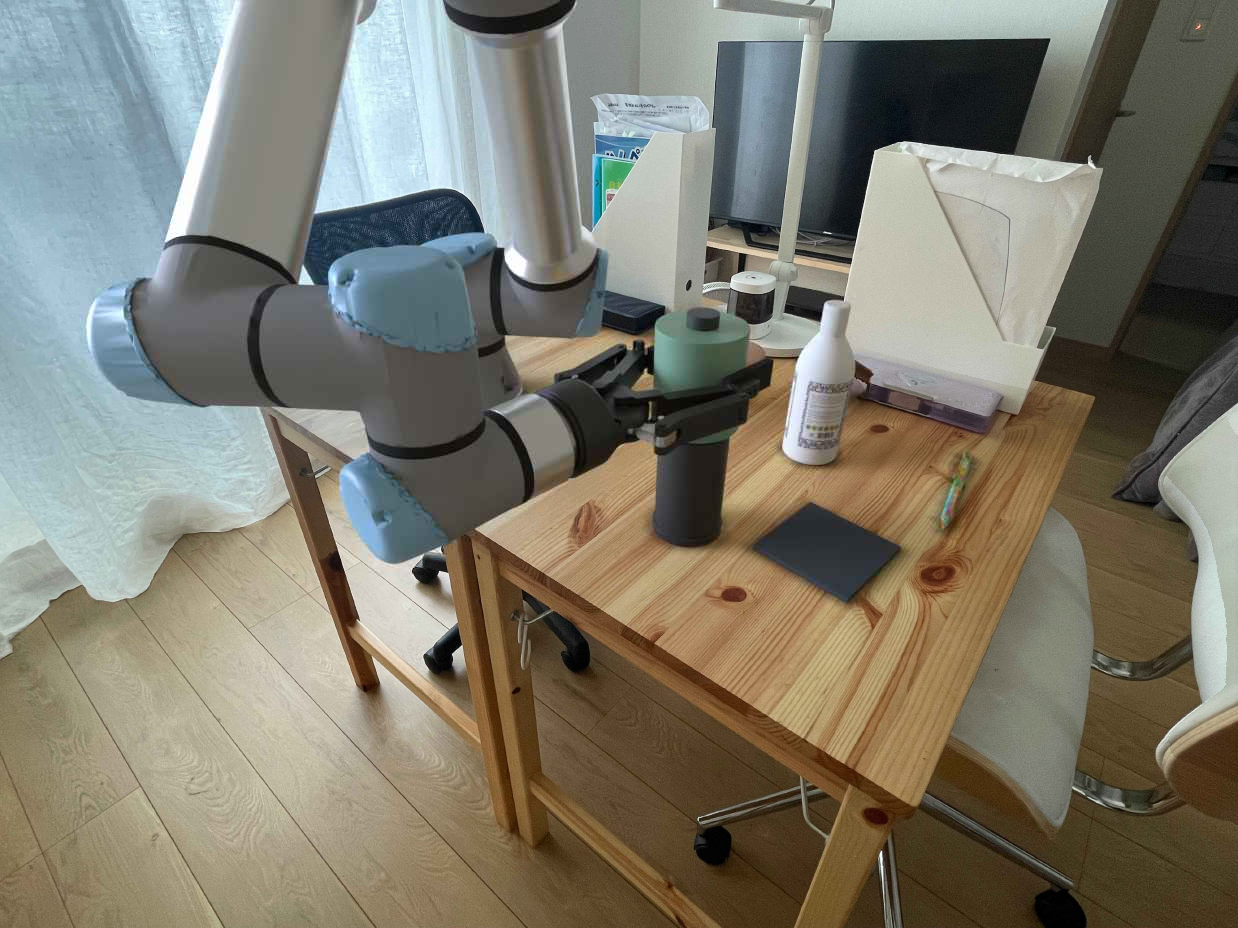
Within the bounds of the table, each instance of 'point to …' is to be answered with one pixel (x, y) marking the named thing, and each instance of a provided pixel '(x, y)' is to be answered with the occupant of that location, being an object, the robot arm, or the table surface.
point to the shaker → (690, 493)
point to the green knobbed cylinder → (699, 353)
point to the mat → (827, 550)
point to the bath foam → (821, 390)
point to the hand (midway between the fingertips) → (729, 357)
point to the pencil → (956, 489)
